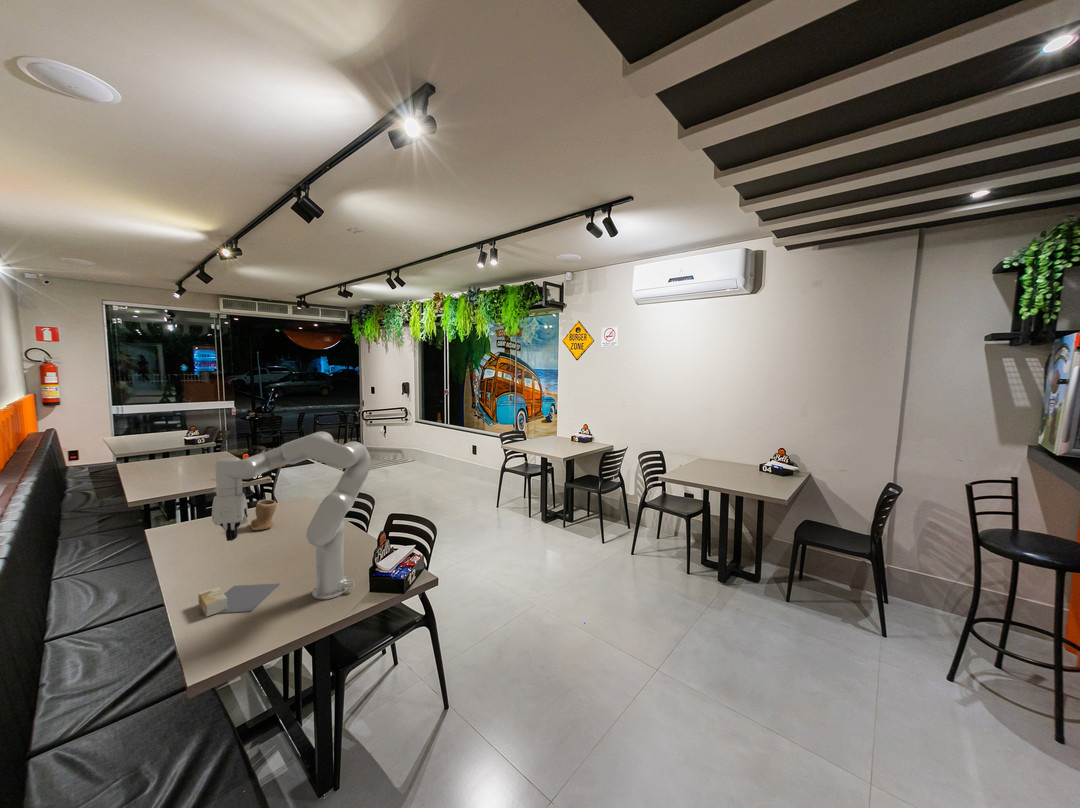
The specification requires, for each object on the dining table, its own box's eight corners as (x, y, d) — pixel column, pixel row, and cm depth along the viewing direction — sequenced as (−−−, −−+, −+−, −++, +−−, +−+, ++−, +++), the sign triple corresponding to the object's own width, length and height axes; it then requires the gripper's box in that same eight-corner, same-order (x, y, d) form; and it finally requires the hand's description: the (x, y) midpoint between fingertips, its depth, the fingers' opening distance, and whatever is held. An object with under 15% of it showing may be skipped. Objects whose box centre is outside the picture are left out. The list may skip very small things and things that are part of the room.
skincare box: (219, 586, 149) (228, 597, 142) (219, 597, 150) (229, 608, 142) (196, 593, 144) (205, 605, 137) (197, 604, 144) (206, 617, 137)
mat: (279, 584, 160) (279, 583, 160) (251, 611, 141) (251, 610, 141) (233, 586, 158) (233, 585, 158) (199, 614, 139) (199, 613, 139)
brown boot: (277, 528, 219) (276, 502, 218) (251, 533, 212) (250, 506, 211) (276, 520, 231) (275, 495, 230) (251, 524, 224) (250, 498, 223)
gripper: (200, 494, 142) (202, 544, 143) (245, 493, 144) (247, 542, 145) (214, 489, 149) (216, 536, 151) (257, 487, 151) (259, 534, 153)
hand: (231, 539), depth 148 cm, fingers closed
